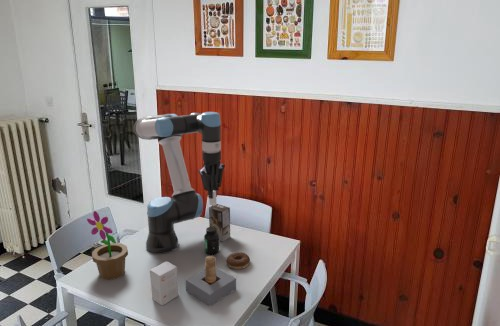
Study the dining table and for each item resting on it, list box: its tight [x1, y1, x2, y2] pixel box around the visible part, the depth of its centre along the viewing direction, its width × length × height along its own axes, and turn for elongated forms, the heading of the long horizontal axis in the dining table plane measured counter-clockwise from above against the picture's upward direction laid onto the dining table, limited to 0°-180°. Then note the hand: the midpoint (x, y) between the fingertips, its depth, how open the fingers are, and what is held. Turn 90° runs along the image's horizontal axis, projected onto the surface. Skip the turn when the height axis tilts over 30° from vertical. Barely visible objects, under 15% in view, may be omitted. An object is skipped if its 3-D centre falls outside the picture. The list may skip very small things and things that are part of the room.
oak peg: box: [204, 255, 217, 285], centre depth 151 cm, size 4×4×14 cm
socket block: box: [185, 267, 237, 307], centre depth 152 cm, size 14×14×5 cm
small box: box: [149, 261, 179, 307], centre depth 146 cm, size 8×6×13 cm
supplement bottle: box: [203, 226, 220, 256], centre depth 178 cm, size 7×7×12 cm
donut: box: [225, 251, 251, 270], centre depth 170 cm, size 11×11×4 cm
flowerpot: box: [86, 210, 129, 280], centre depth 159 cm, size 14×14×30 cm
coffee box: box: [208, 203, 231, 242], centre depth 192 cm, size 9×6×16 cm
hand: (212, 204), depth 162 cm, fingers closed
